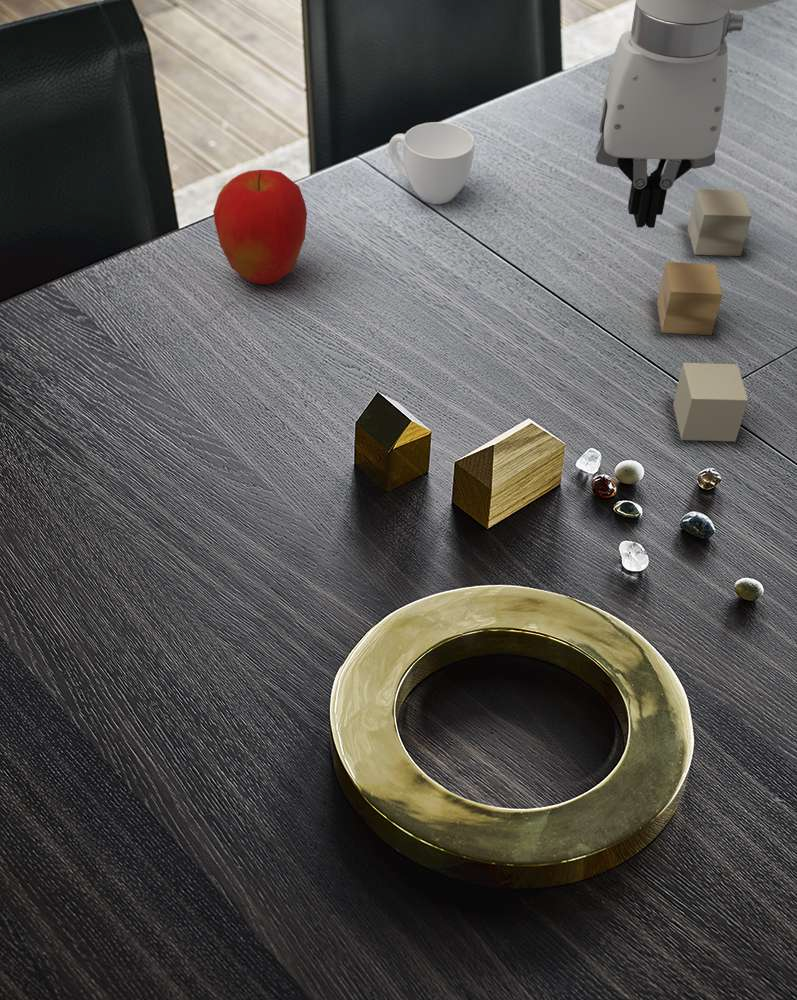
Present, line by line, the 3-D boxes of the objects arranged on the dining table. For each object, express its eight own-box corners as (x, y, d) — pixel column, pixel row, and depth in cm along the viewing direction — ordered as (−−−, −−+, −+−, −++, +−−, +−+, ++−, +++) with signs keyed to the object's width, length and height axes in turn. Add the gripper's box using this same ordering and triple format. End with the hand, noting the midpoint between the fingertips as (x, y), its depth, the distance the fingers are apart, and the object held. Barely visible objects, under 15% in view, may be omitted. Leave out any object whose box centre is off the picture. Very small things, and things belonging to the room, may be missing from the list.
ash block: (732, 230, 138) (742, 190, 134) (740, 256, 134) (751, 216, 131) (687, 228, 138) (696, 188, 134) (694, 255, 134) (704, 214, 131)
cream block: (726, 405, 117) (738, 363, 113) (735, 442, 113) (748, 400, 110) (672, 404, 117) (683, 362, 113) (680, 440, 113) (691, 398, 110)
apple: (280, 240, 133) (276, 138, 125) (325, 283, 128) (324, 179, 120) (202, 267, 130) (193, 163, 121) (246, 312, 125) (239, 206, 116)
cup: (450, 220, 137) (454, 165, 132) (371, 193, 141) (372, 139, 136) (482, 188, 142) (487, 134, 137) (405, 163, 145) (407, 109, 141)
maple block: (705, 305, 128) (715, 264, 124) (711, 335, 124) (722, 294, 121) (656, 302, 128) (665, 261, 124) (661, 332, 124) (670, 291, 121)
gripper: (758, 10, 107) (715, 200, 120) (583, 6, 107) (559, 197, 120) (777, 49, 102) (730, 243, 114) (592, 45, 101) (567, 240, 114)
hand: (643, 219), depth 117 cm, fingers closed
